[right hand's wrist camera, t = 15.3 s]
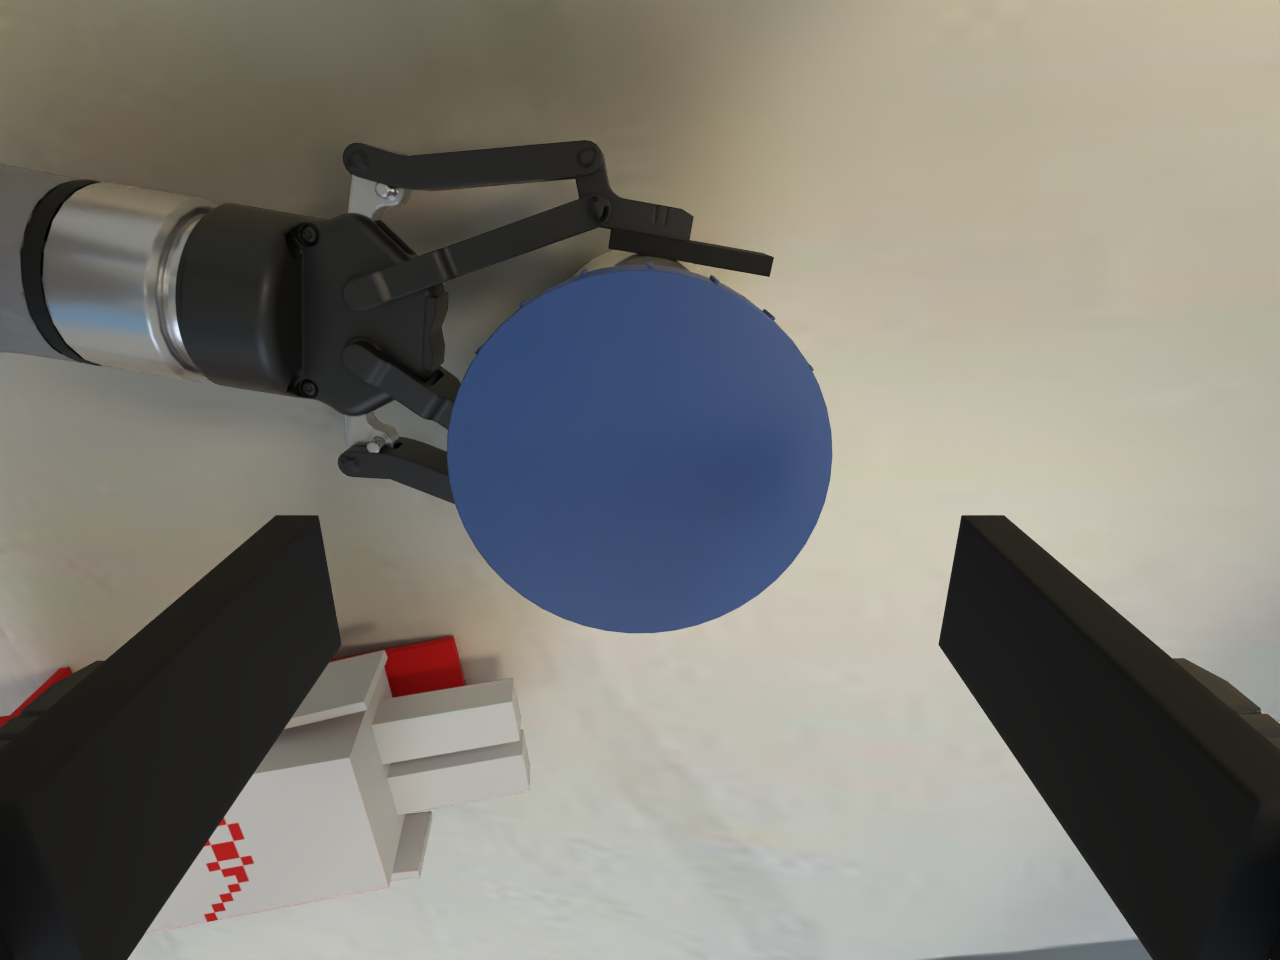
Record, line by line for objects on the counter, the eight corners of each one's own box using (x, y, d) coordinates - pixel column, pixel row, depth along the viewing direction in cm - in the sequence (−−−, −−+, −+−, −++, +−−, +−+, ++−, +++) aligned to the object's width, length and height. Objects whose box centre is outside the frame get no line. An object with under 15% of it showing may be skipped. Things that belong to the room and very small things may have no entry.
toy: (536, 895, 38) (-75, 1014, 35) (536, 728, 50) (85, 805, 47) (499, 709, 33) (-203, 826, 31) (508, 576, 46) (11, 651, 43)
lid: (618, 173, 18) (616, 169, 16) (894, 429, 20) (917, 450, 18) (391, 464, 21) (368, 486, 19) (657, 658, 23) (658, 695, 21)
